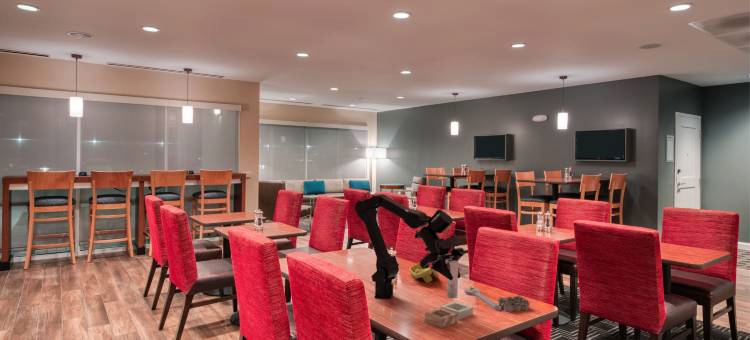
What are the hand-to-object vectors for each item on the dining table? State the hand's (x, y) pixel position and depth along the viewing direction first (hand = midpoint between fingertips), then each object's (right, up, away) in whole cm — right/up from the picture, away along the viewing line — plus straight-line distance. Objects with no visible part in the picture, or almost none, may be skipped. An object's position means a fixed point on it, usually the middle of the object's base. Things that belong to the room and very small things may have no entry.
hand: (455, 278), depth 157 cm
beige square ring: (-6, -14, -4) cm, 15 cm away
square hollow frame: (+1, -13, +4) cm, 14 cm away
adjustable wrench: (+13, -14, +21) cm, 28 cm away
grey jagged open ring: (+23, -14, +12) cm, 29 cm away
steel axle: (-1, -7, +1) cm, 7 cm away
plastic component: (-6, -12, +49) cm, 51 cm away
